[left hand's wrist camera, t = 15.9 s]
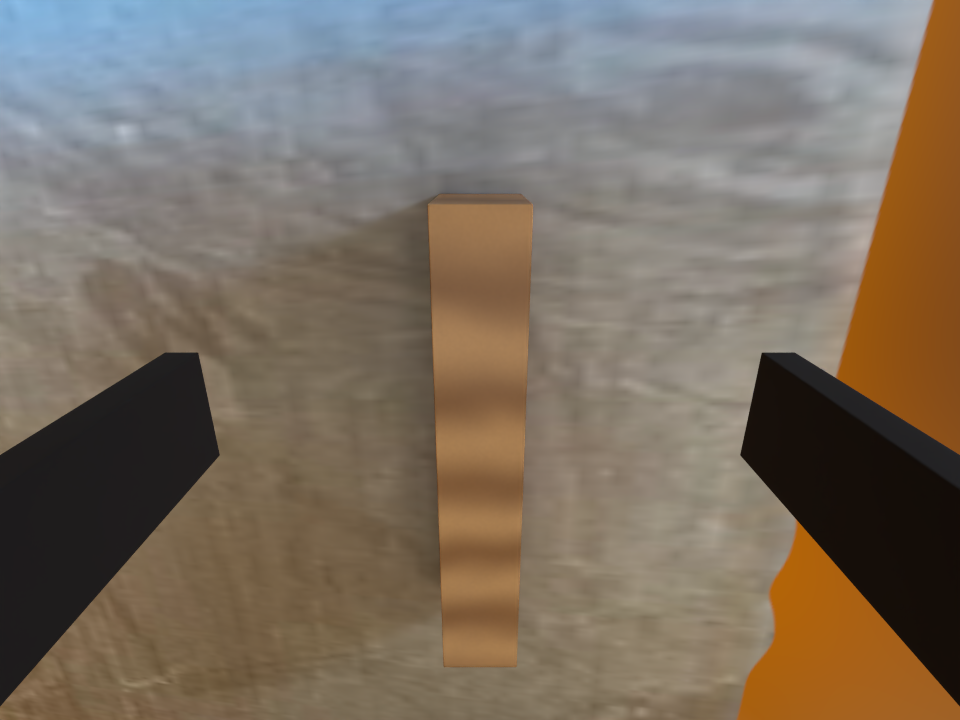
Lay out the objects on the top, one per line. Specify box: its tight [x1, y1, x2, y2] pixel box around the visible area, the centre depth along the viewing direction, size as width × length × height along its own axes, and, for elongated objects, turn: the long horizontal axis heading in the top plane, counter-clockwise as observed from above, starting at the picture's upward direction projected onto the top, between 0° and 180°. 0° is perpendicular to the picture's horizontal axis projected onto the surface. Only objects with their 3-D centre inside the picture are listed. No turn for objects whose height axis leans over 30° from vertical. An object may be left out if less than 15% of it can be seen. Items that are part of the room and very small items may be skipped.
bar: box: [428, 194, 533, 667], centre depth 37 cm, size 34×6×8 cm, turn 0°
